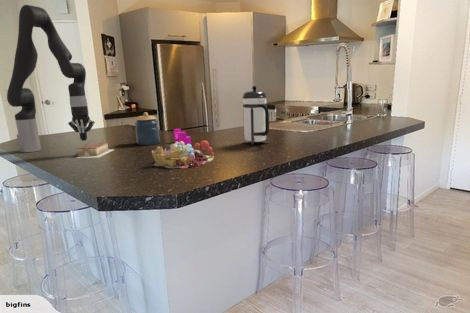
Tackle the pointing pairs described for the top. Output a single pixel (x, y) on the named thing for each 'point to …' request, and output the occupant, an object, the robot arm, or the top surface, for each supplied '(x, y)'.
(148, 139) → the canister
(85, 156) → the mat
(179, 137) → the toy block
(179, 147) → the candy landscape model
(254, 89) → the coffee press
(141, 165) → the top surface
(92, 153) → the birch tile
